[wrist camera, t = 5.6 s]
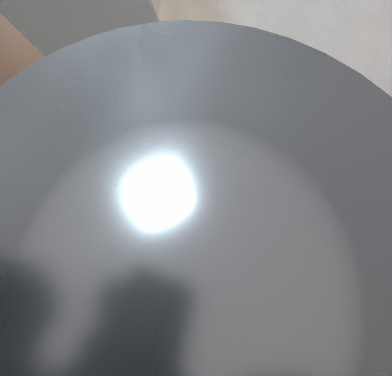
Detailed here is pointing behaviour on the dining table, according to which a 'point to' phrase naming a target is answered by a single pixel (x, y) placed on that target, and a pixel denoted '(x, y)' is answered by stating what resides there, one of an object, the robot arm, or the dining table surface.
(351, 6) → the dining table surface
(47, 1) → the milk
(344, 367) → the tin can
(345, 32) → the dining table surface
